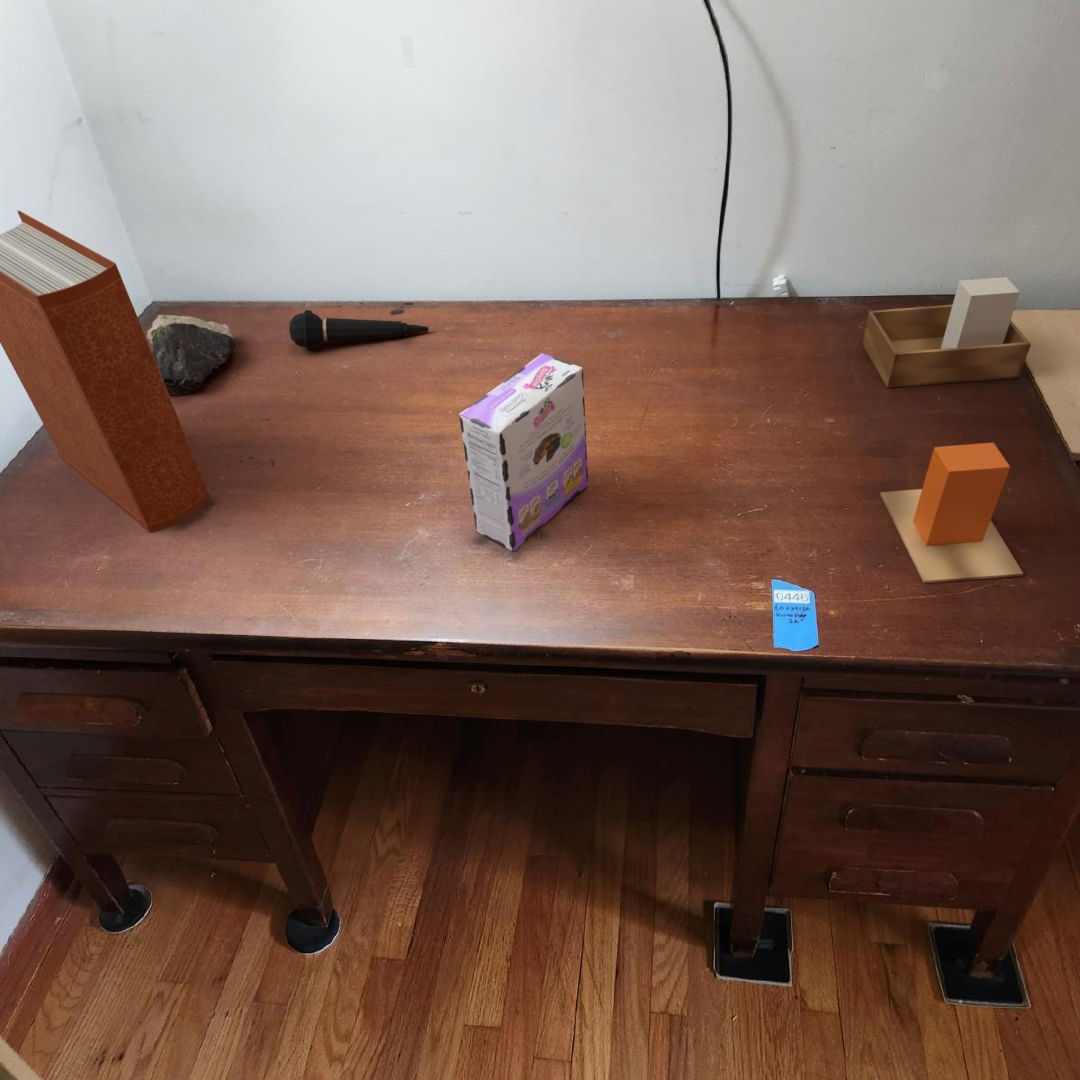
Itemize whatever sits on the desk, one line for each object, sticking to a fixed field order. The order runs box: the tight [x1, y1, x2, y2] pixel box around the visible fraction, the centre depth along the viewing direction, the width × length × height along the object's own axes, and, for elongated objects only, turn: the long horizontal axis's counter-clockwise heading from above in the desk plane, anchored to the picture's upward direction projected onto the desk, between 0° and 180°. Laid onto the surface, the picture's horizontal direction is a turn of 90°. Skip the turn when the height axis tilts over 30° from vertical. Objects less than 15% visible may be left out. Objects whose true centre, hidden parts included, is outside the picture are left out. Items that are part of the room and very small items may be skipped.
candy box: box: [458, 352, 589, 552], centre depth 99 cm, size 14×6×16 cm, turn 141°
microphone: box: [288, 309, 429, 351], centre depth 133 cm, size 6×6×20 cm
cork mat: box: [879, 488, 1024, 584], centre depth 97 cm, size 10×14×1 cm
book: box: [0, 210, 211, 534], centre depth 103 cm, size 23×8×30 cm, turn 47°
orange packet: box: [913, 442, 1011, 545], centre depth 94 cm, size 6×4×10 cm, turn 92°
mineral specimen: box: [146, 314, 238, 397], centre depth 129 cm, size 13×7×15 cm
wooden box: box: [861, 304, 1032, 389], centre depth 120 cm, size 17×11×5 cm, turn 92°
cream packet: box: [941, 276, 1020, 349], centre depth 118 cm, size 6×4×10 cm, turn 92°
